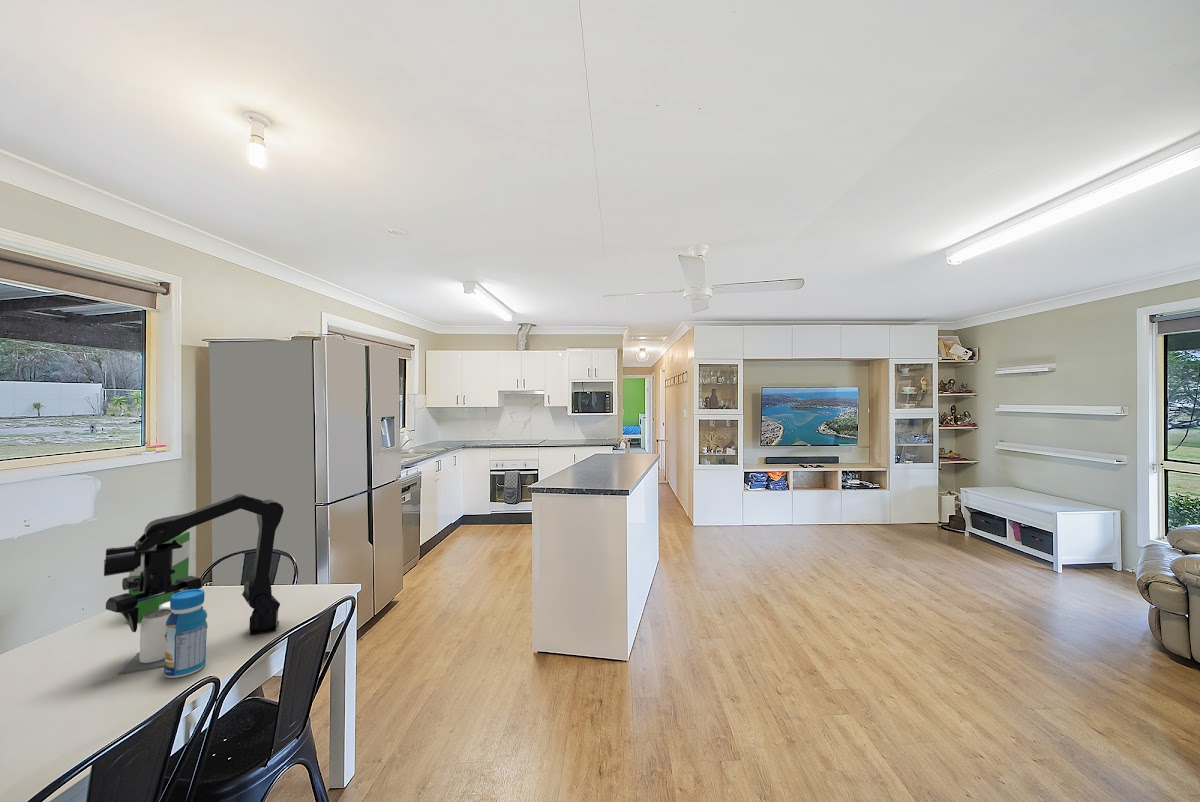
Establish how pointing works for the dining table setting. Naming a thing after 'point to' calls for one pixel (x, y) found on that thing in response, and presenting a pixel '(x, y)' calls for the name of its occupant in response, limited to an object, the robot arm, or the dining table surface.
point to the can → (153, 636)
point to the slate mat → (140, 665)
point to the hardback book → (181, 571)
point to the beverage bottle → (185, 634)
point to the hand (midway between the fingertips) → (155, 624)
